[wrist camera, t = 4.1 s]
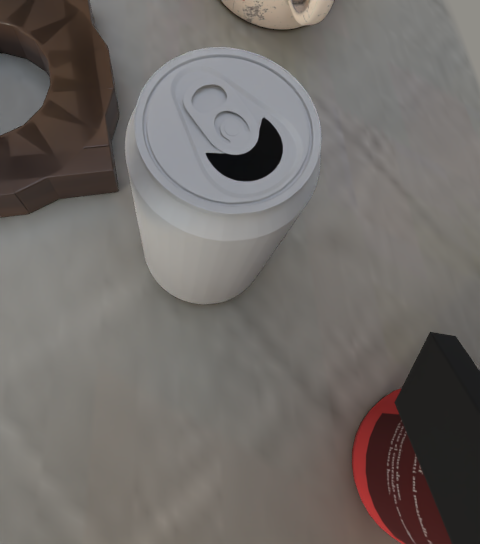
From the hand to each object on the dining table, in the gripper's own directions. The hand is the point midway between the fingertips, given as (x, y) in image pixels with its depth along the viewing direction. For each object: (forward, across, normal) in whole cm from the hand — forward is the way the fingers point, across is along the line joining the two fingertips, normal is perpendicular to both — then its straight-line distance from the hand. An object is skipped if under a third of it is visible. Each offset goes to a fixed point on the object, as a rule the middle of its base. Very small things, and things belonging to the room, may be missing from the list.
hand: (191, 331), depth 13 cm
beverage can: (+12, 0, -4) cm, 13 cm away
